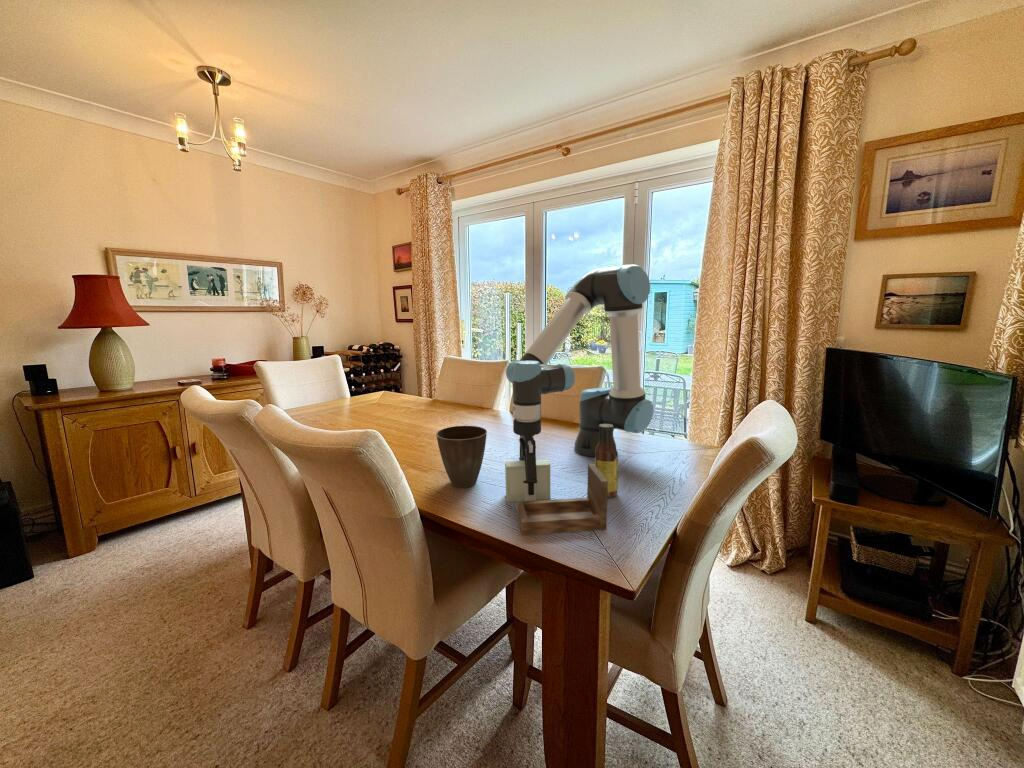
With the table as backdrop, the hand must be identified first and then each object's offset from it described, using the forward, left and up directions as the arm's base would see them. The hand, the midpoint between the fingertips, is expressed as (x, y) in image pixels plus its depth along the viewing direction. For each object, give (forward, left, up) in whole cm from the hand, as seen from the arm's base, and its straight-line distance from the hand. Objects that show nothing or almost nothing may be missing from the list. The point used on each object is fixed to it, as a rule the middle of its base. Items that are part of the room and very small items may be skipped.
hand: (527, 495), depth 114 cm
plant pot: (+18, -12, -1) cm, 22 cm away
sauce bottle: (-22, +1, 0) cm, 22 cm away
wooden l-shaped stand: (-6, +14, 0) cm, 15 cm away
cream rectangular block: (0, 0, 0) cm, 0 cm away
